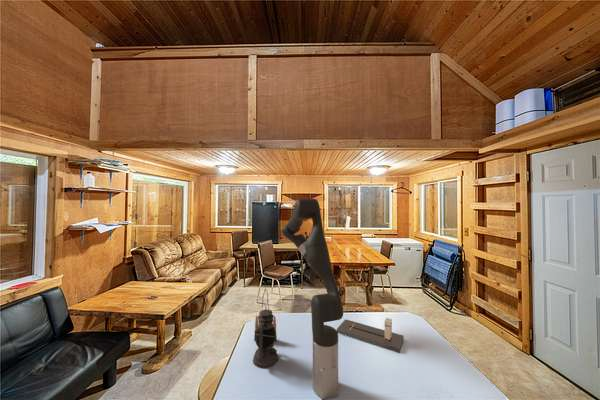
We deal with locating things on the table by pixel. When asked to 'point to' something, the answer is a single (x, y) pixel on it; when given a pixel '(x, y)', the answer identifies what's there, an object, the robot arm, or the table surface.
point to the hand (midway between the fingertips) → (327, 275)
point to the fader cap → (388, 328)
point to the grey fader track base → (371, 335)
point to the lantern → (265, 340)
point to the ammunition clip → (257, 326)
